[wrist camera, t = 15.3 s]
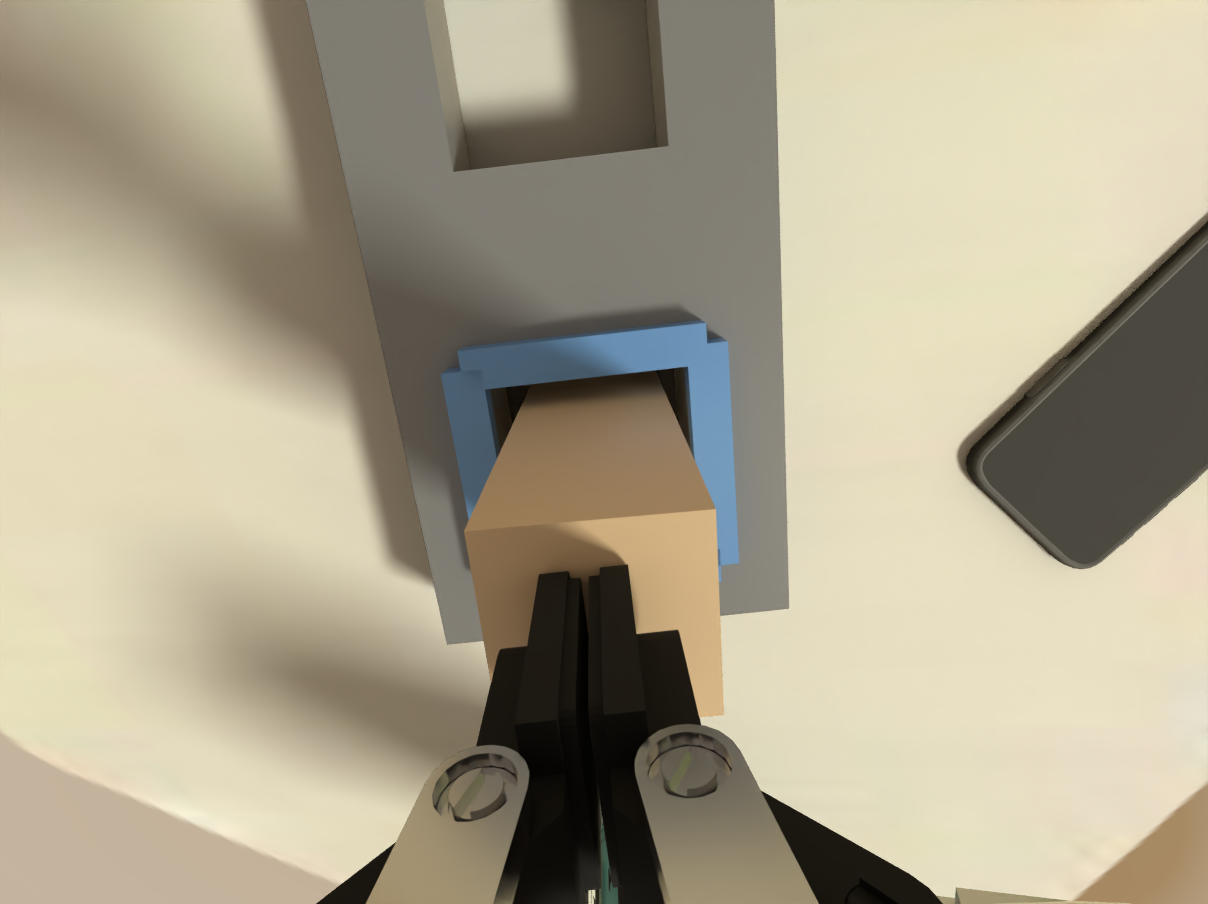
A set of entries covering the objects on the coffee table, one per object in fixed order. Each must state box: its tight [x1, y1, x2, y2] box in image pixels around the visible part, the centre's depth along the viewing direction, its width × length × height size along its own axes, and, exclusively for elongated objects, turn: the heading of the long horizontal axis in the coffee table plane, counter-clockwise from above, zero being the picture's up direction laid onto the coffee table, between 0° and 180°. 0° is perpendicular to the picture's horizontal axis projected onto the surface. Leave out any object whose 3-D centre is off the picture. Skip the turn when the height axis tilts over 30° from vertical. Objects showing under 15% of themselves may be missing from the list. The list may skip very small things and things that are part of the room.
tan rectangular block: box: [464, 371, 724, 717], centre depth 17 cm, size 4×4×12 cm
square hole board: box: [306, 0, 789, 645], centre depth 19 cm, size 24×12×4 cm, turn 6°
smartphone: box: [966, 222, 1208, 569], centre depth 23 cm, size 7×1×15 cm
